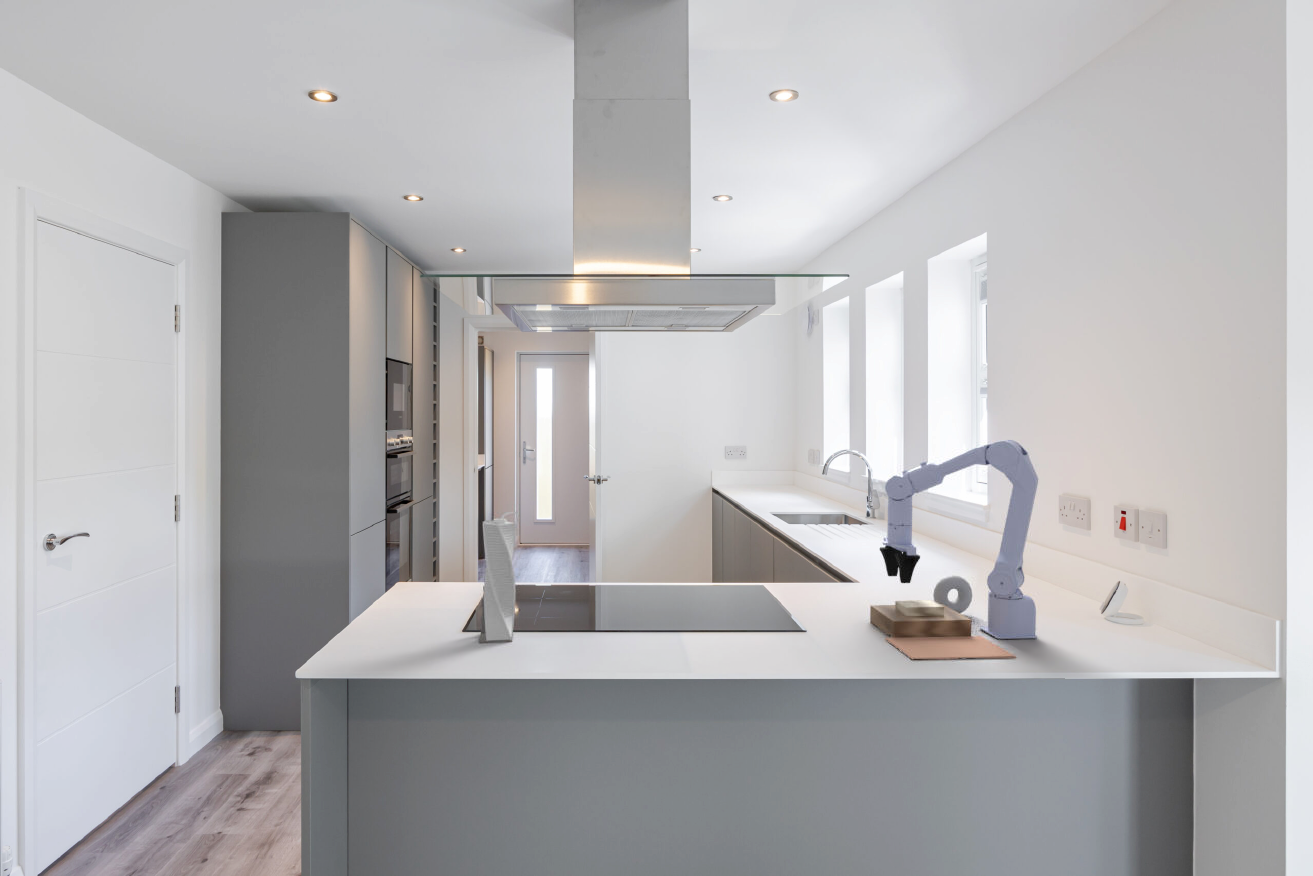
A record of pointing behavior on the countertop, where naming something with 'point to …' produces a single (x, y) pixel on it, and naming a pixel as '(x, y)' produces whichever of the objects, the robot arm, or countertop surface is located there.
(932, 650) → the mat
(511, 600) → the skyscraper
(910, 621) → the block
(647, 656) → the countertop surface
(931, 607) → the cream rectangular block
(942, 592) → the donut
